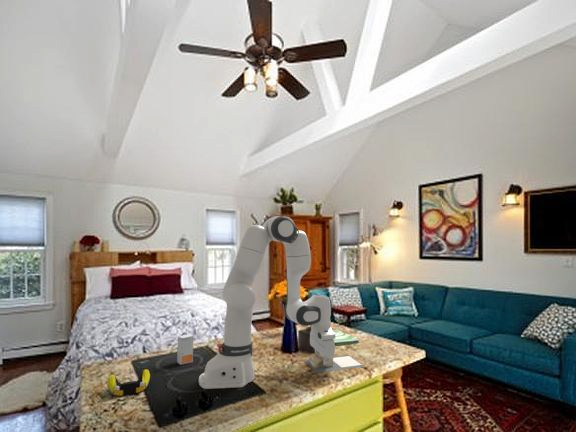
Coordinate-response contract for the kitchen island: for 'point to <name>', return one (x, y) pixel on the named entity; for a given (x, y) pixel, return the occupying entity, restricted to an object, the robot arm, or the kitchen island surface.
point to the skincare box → (185, 349)
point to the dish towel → (344, 338)
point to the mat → (338, 364)
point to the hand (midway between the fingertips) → (321, 361)
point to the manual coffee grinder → (305, 340)
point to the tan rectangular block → (320, 361)
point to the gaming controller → (128, 385)
